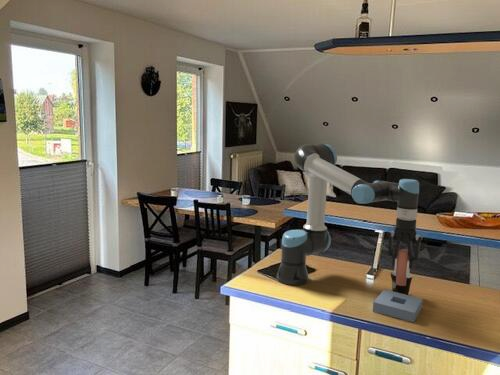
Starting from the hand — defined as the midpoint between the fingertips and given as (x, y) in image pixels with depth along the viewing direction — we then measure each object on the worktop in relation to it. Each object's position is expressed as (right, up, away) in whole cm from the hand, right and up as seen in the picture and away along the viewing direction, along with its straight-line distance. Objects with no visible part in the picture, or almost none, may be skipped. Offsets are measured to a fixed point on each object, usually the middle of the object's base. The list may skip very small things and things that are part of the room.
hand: (401, 274), depth 170 cm
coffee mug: (+6, -13, +18) cm, 23 cm away
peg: (0, -4, +1) cm, 4 cm away
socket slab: (-1, -15, +3) cm, 15 cm away
